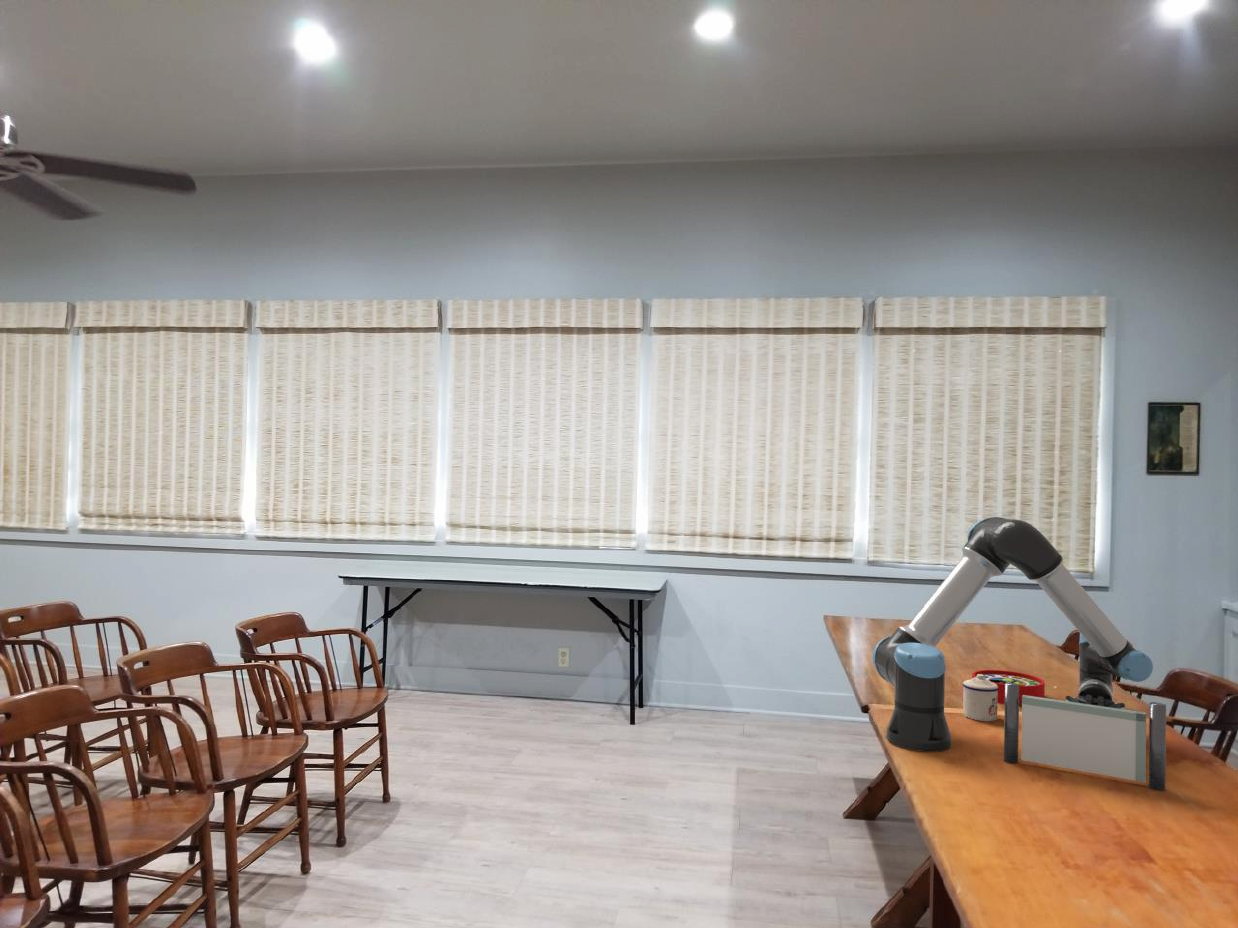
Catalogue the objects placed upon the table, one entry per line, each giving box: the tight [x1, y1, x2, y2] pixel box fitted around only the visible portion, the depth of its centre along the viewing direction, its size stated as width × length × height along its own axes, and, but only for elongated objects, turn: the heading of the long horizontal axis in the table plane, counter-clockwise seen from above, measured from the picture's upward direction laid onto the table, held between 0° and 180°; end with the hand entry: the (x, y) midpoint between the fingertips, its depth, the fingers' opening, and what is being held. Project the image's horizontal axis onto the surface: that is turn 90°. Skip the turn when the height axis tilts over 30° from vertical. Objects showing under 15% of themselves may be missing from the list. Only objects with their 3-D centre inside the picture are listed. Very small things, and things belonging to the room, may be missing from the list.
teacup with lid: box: [962, 674, 999, 722], centre depth 223 cm, size 12×9×12 cm
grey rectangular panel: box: [1020, 695, 1147, 784], centre depth 179 cm, size 24×2×15 cm, turn 59°
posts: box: [1003, 682, 1167, 792], centre depth 179 cm, size 31×3×18 cm, turn 59°
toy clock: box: [971, 669, 1046, 706], centre depth 244 cm, size 20×6×20 cm
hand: (1093, 721), depth 185 cm, fingers closed
